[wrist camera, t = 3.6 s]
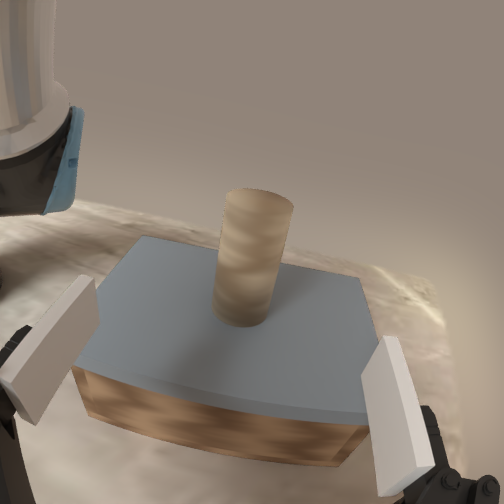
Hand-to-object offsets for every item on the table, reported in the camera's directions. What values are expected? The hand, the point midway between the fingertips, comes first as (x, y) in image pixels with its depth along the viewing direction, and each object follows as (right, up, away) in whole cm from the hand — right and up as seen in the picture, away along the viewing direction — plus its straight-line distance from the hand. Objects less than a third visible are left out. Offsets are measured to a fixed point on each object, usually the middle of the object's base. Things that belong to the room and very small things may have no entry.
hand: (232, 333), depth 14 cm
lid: (0, -2, +12) cm, 12 cm away
